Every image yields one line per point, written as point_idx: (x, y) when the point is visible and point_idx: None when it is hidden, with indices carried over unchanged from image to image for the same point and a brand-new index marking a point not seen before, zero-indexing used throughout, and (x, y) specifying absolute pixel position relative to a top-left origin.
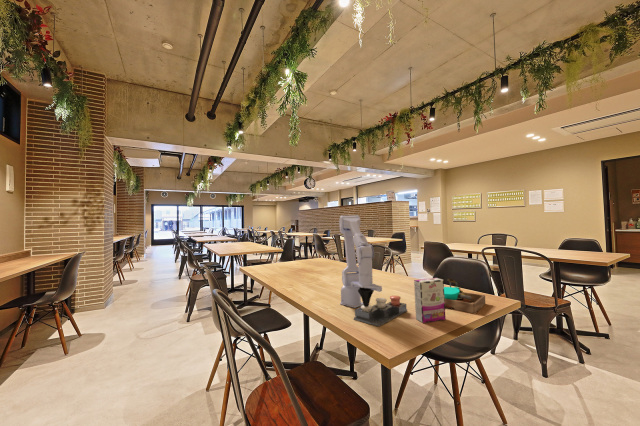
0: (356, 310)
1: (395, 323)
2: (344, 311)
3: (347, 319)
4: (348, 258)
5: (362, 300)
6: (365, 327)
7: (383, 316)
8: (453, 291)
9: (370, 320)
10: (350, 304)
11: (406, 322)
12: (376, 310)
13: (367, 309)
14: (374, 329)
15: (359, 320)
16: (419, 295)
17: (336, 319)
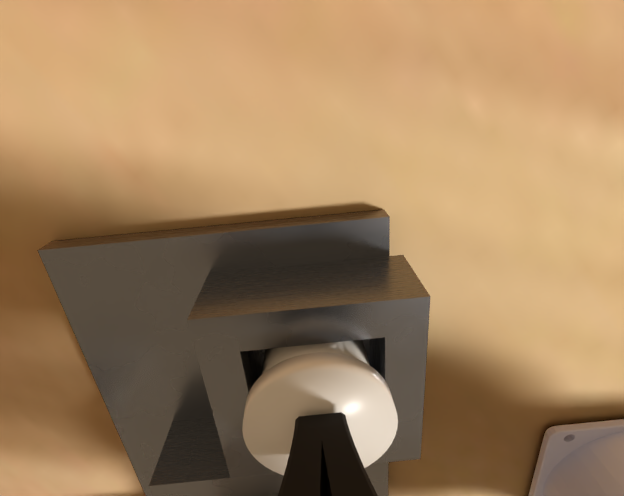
0: (399, 296)
1: (45, 397)
2: (601, 310)
3: (447, 160)
4: None
5: (367, 490)
6: (124, 120)
7: (182, 424)
8: None
9: (194, 280)
10: (621, 442)
11: (16, 460)
12: (226, 447)
13: (260, 381)
14: (17, 150)
15: (306, 219)
16: None
17: (566, 54)
